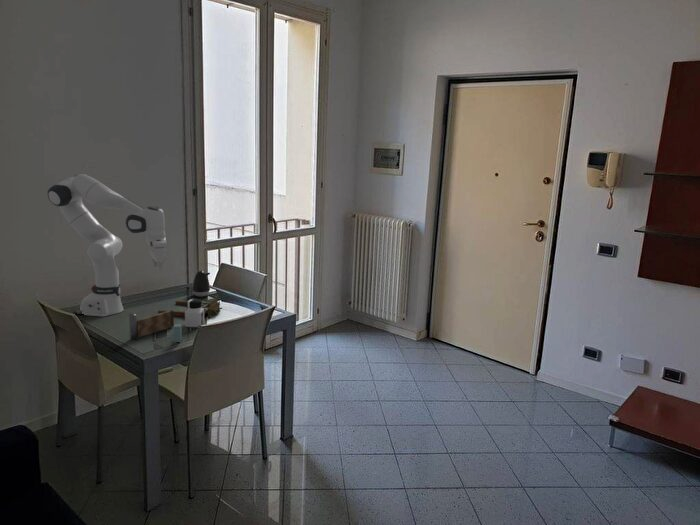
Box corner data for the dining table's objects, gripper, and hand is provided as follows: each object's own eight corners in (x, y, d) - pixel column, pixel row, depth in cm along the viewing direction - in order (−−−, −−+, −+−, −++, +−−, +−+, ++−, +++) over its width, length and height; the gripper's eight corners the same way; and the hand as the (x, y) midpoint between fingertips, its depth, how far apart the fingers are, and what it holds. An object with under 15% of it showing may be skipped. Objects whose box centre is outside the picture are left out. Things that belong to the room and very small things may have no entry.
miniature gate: (180, 296, 295) (229, 298, 289) (180, 305, 296) (230, 307, 290) (153, 310, 269) (206, 312, 263) (154, 320, 270) (207, 323, 264)
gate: (138, 337, 239) (137, 321, 237) (136, 336, 240) (135, 320, 238) (173, 326, 256) (173, 310, 254) (171, 325, 257) (171, 310, 255)
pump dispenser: (208, 298, 304) (208, 273, 300) (190, 297, 303) (189, 272, 300) (212, 293, 314) (211, 269, 310) (194, 292, 313) (194, 268, 310)
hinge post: (129, 340, 237) (128, 315, 234) (131, 338, 239) (130, 313, 237) (136, 340, 237) (135, 315, 234) (138, 338, 240) (137, 313, 237)
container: (204, 322, 265) (204, 298, 262) (200, 327, 258) (200, 302, 255) (189, 321, 265) (188, 297, 262) (184, 326, 257) (184, 301, 254)
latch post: (173, 343, 237) (173, 326, 235) (175, 340, 240) (174, 324, 238) (180, 343, 237) (180, 326, 235) (181, 340, 240) (181, 324, 238)
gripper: (145, 237, 257) (146, 264, 260) (153, 244, 240) (155, 273, 243) (158, 236, 260) (159, 263, 263) (167, 243, 243) (168, 272, 246)
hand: (157, 268), depth 253 cm, fingers open, 8 cm apart
